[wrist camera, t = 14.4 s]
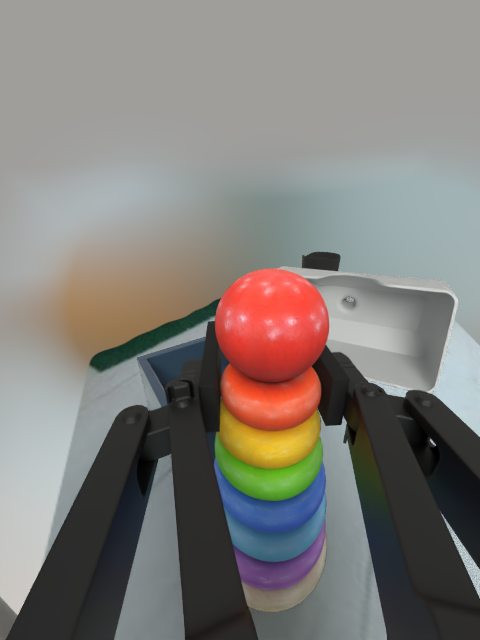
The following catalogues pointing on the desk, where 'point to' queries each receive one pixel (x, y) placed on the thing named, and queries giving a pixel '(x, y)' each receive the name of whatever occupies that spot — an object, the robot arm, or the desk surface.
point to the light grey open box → (388, 324)
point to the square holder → (171, 374)
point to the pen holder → (321, 261)
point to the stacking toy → (272, 434)
